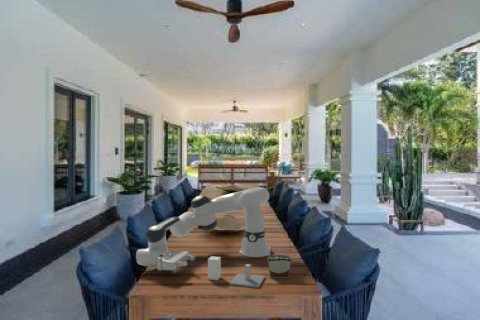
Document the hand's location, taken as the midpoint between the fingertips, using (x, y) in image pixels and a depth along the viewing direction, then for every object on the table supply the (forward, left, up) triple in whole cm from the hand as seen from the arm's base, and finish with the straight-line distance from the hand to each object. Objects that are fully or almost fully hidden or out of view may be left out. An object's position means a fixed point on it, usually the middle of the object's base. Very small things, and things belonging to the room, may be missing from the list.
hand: (190, 261), depth 207 cm
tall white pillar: (0, +12, -7) cm, 14 cm away
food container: (-12, +42, -8) cm, 45 cm away
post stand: (0, +29, -7) cm, 30 cm away
